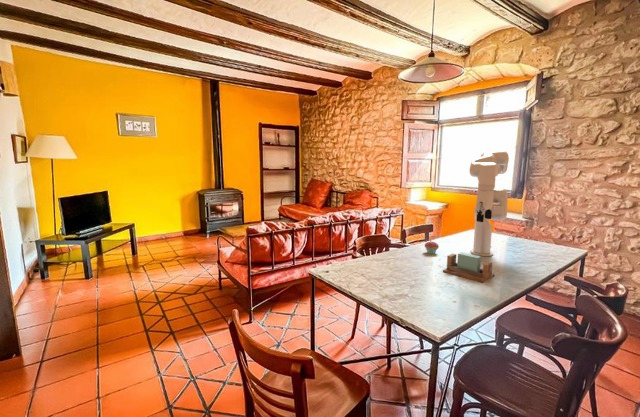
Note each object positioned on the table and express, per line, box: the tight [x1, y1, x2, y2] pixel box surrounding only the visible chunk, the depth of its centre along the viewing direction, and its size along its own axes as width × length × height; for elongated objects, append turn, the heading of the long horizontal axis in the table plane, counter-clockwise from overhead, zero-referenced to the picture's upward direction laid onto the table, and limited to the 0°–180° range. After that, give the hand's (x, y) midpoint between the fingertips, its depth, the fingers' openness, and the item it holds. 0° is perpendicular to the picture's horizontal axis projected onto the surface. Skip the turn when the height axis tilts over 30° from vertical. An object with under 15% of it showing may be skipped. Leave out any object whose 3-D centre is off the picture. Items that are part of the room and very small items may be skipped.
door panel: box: [456, 252, 482, 273], centre depth 153 cm, size 4×10×9 cm, turn 41°
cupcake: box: [424, 235, 440, 255], centre depth 190 cm, size 9×8×12 cm
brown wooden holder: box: [442, 253, 495, 284], centre depth 154 cm, size 14×20×8 cm
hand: (483, 220), depth 157 cm, fingers open, 9 cm apart
